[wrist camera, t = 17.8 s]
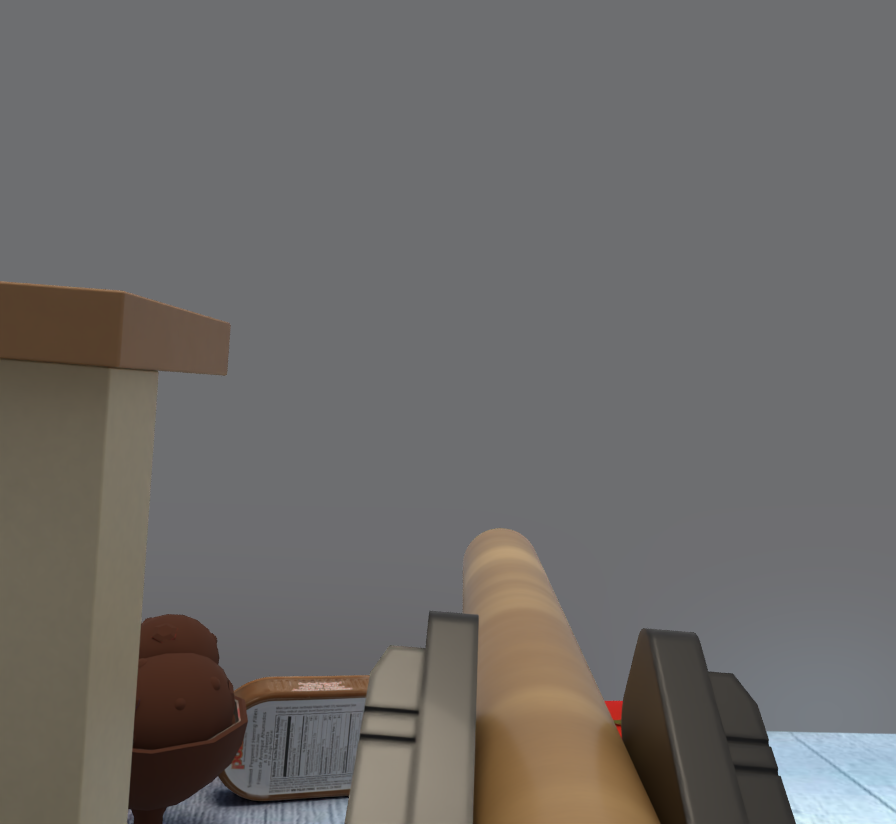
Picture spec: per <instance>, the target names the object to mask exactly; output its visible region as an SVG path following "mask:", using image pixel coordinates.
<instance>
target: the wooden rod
mask: <svg viewBox="0 0 896 824" xmlns="http://www.w3.org/2000/svg"><path fill="white" fill-rule="evenodd" d="M463 614H476V615H479V631H478V665H477V699H476V733H475V767H474V801H473V824H661V823H660V821H659V819H658V817H657V814H656V812H655V810H654V808H653V806H652V804H651V801H650V799H649V797H648V795H647V793H646V790H645V788H644V786H643V784H642V782H641V780H640V777H639V775H638V773H637V771H636V769H635V767H634V764H633V762H632V760H631V758H630V756H629V754H628V751H627V749H626V747H625V745H624V743H623V740H622V738H621V736H620V734H619V732H618V730H617V727H616V725H615V723H614V721H613V719H612V717H611V714H610V712H609V710H608V708H607V706H606V704H605V701H604V699H603V697H602V695H601V693H600V691H599V689H598V686H597V684H596V682H595V680H594V677H593V675H592V673H591V671H590V669H589V667H588V665H587V662H586V660H585V658H584V656H583V654H582V651H581V649H580V647H579V645H578V643H577V641H576V638H575V636H574V634H573V632H572V630H571V628H570V625H569V623H568V621H567V619H566V617H565V615H564V612H563V610H562V609H561V606H560V604H559V601H558V599H557V597H556V595H555V593H554V591H553V588H552V586H551V584H550V582H549V580H548V577H547V575H546V573H545V571H544V569H543V567H542V565H541V562H540V560H539V558H538V556H537V554H536V552H535V549H534V548H533V546H532V545H531V543H530V542H529V541H528V540H527V539H526V538H525V537H524V536H522V535H521V534H520V533H518V532H516V531H513V530H510V529H503V528H497V529H491V530H488V531H486V532H483V533H482V534H480V535H478V536H477V537H476V538H475V539H474V540H473V541H472V542H471V543H470V545H469V546H468V548H467V550H466V552H465V555H464V559H463Z"/></svg>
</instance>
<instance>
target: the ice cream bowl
mask: <svg viewBox="0 0 896 824" xmlns="http://www.w3.org/2000/svg"><path fill="white" fill-rule="evenodd" d="M218 663H219V654H218V649H217V638H216V636H214V634H213V633H210V631H209V630H208V629H207V628H206V627H205V626H204V625H202V624H201V623H200V622H199V621H198V620H195V619H193V618H190V617H187V616H185V615H172V614H167V615H162V616H158V617H154V618H147V619H145V621H144V622H143V623H142V624H141V631H140V645H139V660H138V674H137V688H136V703H135V717H134V731H133V745H132V760H131V774H130V788H129V803H128V809H131V810H132V813H133V816H134V824H162V821H163V814H164V812H165V810H166V808H167V807H168V806H173V805H177V804H178V803H180V802H182V801H184V800H186V799H187V798H189V797H190V796H192V795H193V794H195V793H196V792H198V791H199V790H200V789H202V788H203V787H205V786H206V785H208V784H209V783H210V782H212V781H213V780H214V779H215V778H216V777H217V776H218V775H219V774H221V773H222V772H223V771H224V770H225V769H226V768H227V767H228V766H229V765H230V764H231V763H232V761H233V760H234V758H235V756H236V754H237V752H238V751H239V749H240V747H241V745H242V742H243V738H244V735H245V731H246V727H247V724H248V717H247V711H246V704H245V700H244V699H242V698H240V697H237V696H235V695H234V690H233V685H232V683H231V682H230V681H229V679H228V678H227V676H226V674H225V672H224V670H223V669H222V668H221V667H220V666H219V665H218Z"/></svg>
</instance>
